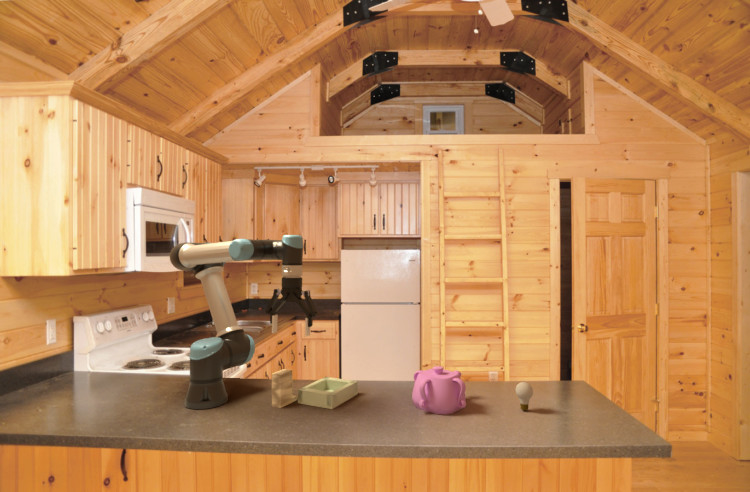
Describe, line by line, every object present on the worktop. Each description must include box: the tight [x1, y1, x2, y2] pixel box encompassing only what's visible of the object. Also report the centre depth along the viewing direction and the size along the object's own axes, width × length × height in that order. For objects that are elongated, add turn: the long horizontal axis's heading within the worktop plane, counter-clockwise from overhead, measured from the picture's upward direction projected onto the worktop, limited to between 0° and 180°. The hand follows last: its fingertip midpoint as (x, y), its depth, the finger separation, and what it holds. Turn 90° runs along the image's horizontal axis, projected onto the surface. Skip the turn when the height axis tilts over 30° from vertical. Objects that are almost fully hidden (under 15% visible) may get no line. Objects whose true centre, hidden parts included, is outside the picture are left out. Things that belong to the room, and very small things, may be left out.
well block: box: [297, 376, 359, 410], centre depth 171 cm, size 15×19×5 cm
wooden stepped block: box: [271, 368, 298, 409], centre depth 166 cm, size 4×10×12 cm, turn 153°
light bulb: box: [515, 381, 534, 412], centre depth 156 cm, size 6×6×10 cm
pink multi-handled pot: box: [411, 365, 467, 416], centre depth 163 cm, size 19×21×14 cm
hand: (290, 334), depth 164 cm, fingers open, 13 cm apart
